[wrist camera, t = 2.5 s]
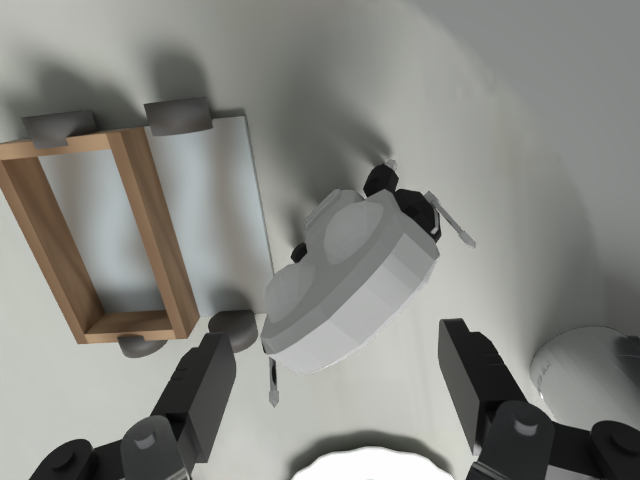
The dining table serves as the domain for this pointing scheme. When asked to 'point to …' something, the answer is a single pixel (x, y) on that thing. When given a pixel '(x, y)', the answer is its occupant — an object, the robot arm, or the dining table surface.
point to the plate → (372, 466)
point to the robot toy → (351, 273)
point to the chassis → (144, 223)
